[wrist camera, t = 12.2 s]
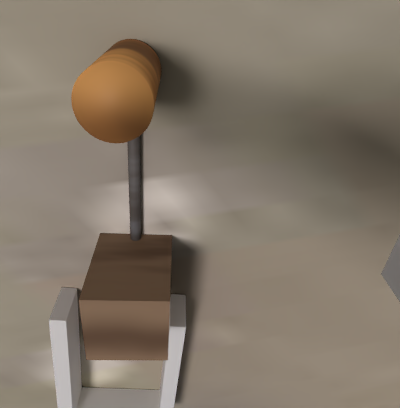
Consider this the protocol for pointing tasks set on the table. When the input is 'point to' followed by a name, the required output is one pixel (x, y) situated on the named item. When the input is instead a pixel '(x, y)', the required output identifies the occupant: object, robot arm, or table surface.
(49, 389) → the table surface
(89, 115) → the tethered block
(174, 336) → the lane
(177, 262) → the table surface
